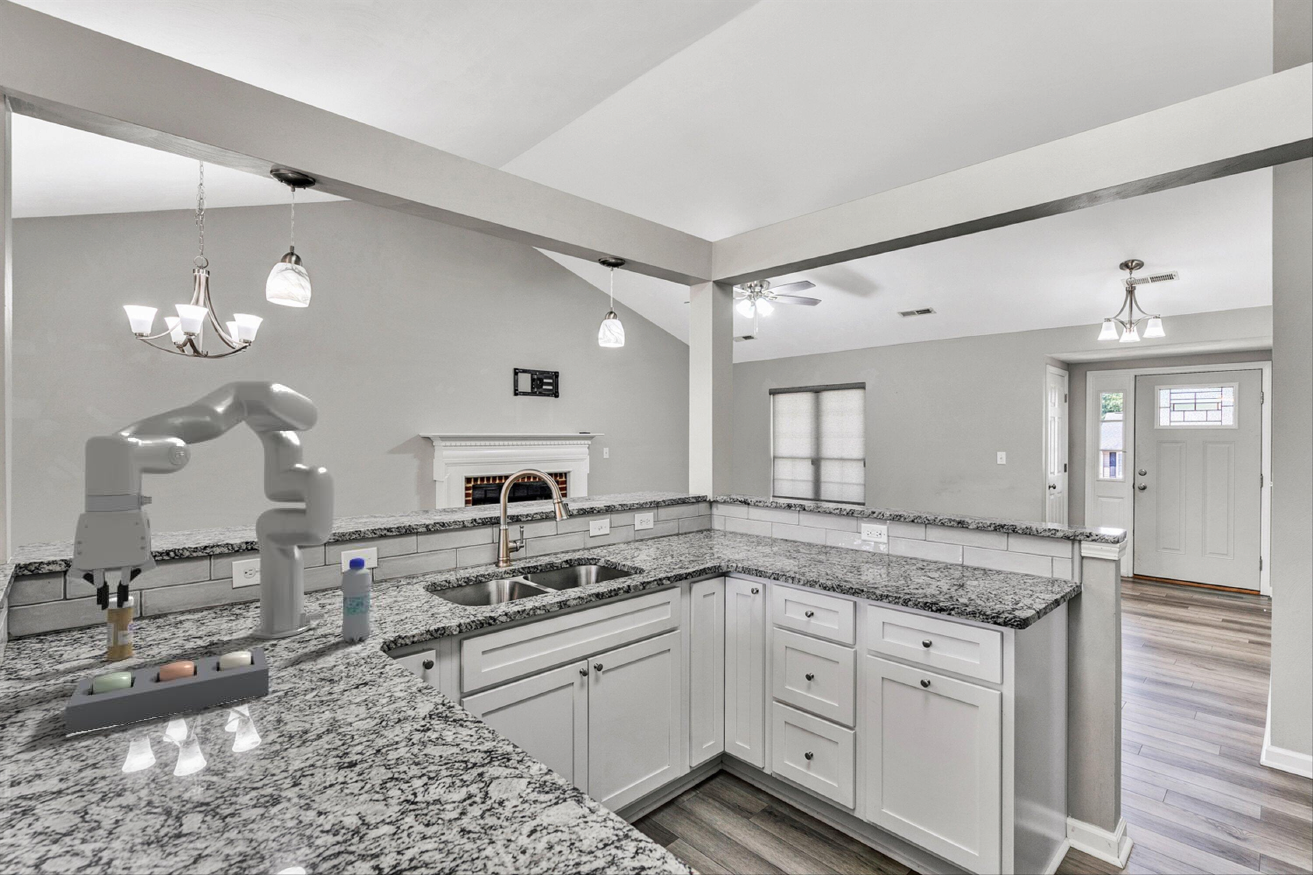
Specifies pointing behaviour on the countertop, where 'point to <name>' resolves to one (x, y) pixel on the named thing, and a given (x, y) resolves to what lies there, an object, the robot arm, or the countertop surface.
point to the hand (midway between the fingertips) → (112, 606)
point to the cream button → (235, 660)
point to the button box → (166, 693)
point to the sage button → (112, 682)
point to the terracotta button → (176, 670)
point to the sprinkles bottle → (120, 630)
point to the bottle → (356, 601)
